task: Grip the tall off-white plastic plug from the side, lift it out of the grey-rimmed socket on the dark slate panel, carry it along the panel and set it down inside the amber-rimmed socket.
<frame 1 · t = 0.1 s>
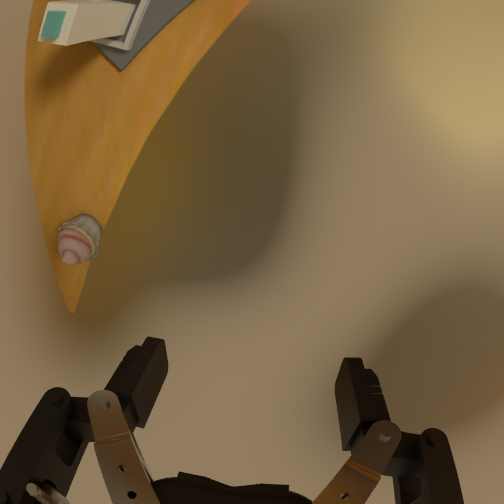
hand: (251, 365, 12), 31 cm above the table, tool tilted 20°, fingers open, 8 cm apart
plug: (115, 16, 25), point 1 cm above the table, touching panel
cupcake: (89, 225, 51), on the table
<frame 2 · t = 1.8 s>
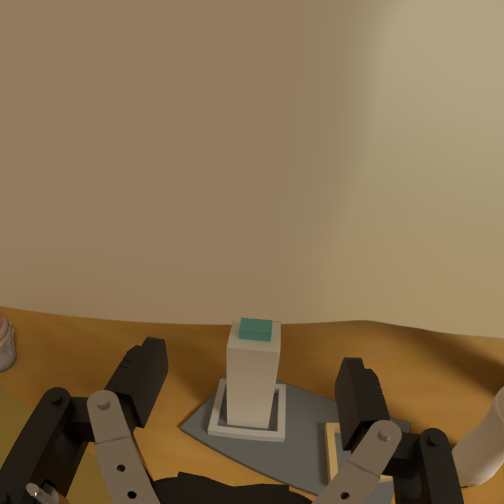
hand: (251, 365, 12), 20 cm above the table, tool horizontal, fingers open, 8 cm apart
water bottle: (462, 471, 19), on the table
plug: (249, 411, 30), point 1 cm above the table, touching panel
panel: (303, 437, 27), on the table
cupcake: (2, 360, 30), on the table
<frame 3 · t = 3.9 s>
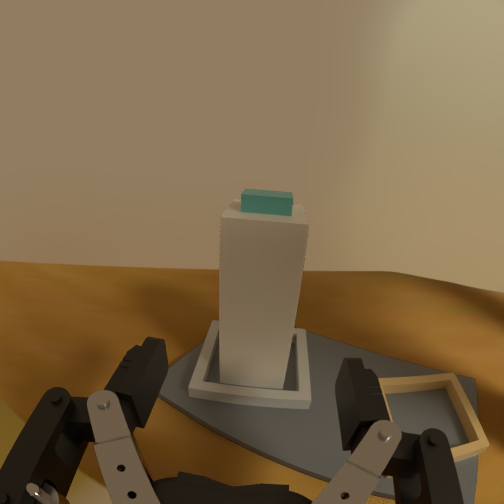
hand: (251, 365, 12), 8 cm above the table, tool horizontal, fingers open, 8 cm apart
plug: (253, 365, 21), point 1 cm above the table, touching panel
panel: (337, 403, 18), on the table
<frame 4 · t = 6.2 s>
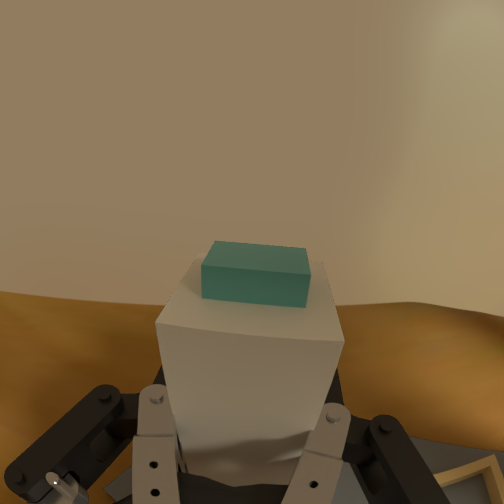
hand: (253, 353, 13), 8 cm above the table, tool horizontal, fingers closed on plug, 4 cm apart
plug: (242, 467, 13), point 1 cm above the table, touching gripper, panel
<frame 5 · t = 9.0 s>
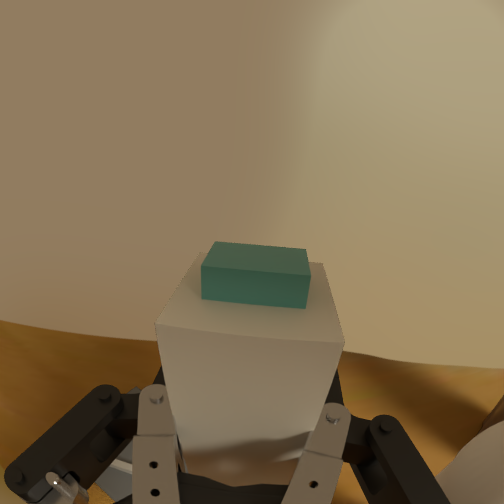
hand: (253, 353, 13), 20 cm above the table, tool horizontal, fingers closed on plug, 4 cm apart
plug: (242, 467, 13), point 13 cm above the table, touching gripper
panel: (176, 479, 21), on the table
when the fingers open (9 cm above the table, at t = 11.8 s): plug stays where it is, resting on panel.
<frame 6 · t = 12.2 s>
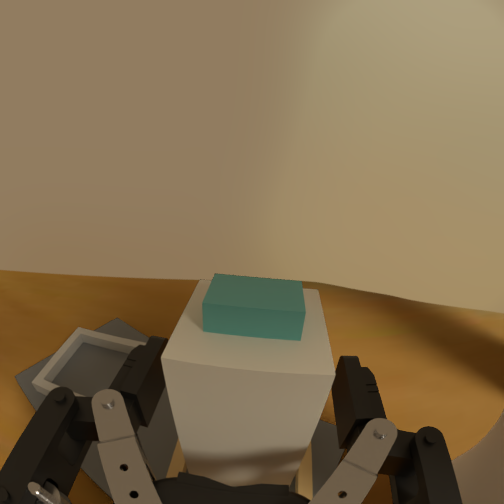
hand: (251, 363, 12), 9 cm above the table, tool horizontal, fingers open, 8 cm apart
plug: (241, 474, 14), point 1 cm above the table, touching panel
panel: (155, 425, 17), on the table
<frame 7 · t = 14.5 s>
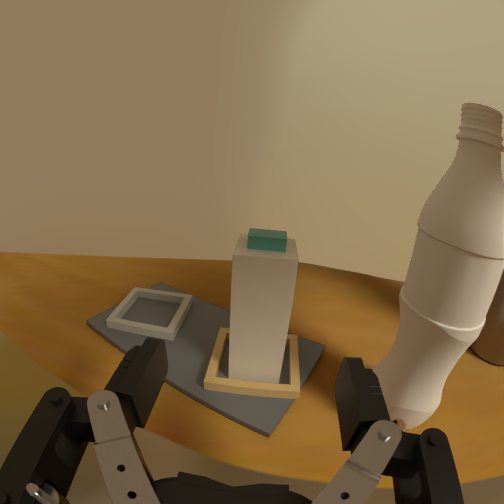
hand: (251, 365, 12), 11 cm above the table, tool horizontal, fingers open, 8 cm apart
water bottle: (392, 410, 21), on the table
plug: (255, 364, 27), point 1 cm above the table, touching panel
panel: (197, 342, 30), on the table
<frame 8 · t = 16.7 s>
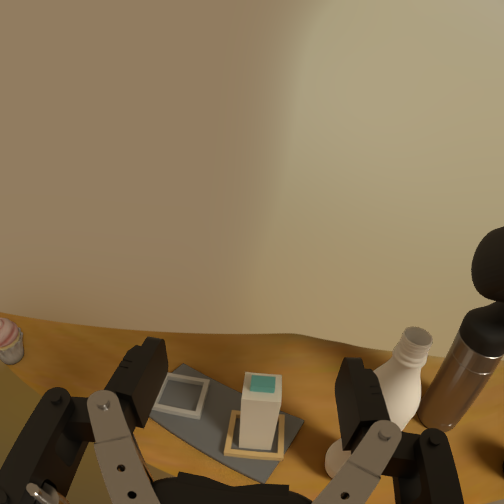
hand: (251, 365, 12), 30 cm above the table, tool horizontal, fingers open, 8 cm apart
water bottle: (344, 467, 31), on the table
plug: (255, 436, 36), point 1 cm above the table, touching panel
panel: (216, 418, 40), on the table
cupcake: (13, 356, 43), on the table
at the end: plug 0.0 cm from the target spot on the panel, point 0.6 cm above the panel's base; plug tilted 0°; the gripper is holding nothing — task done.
